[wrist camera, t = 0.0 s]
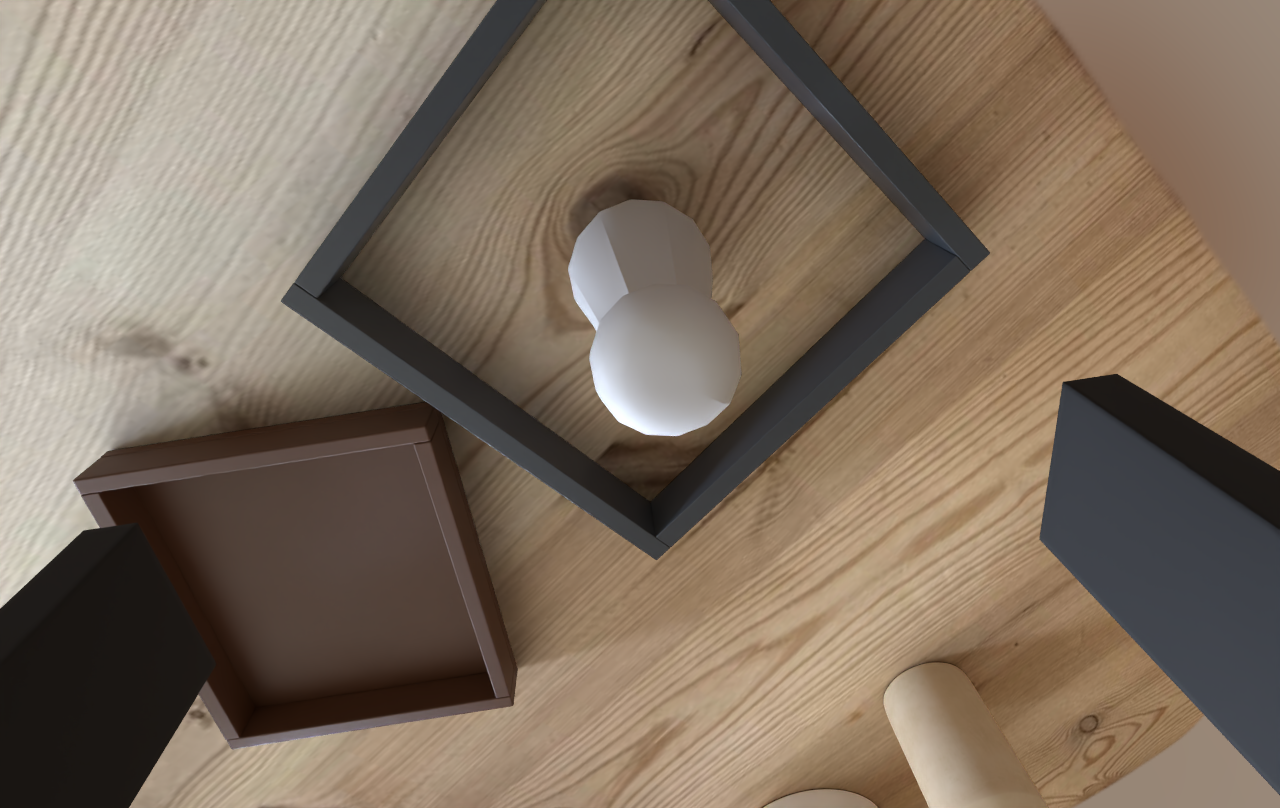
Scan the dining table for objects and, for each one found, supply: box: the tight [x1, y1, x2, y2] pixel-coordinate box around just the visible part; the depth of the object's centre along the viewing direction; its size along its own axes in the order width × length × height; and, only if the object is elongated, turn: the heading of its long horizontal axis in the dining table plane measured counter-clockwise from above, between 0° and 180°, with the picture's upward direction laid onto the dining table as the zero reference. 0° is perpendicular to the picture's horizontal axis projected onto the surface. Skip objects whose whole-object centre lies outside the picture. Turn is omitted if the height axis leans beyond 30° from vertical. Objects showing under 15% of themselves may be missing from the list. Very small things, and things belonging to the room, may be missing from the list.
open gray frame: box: [281, 0, 990, 560], centre depth 29 cm, size 20×20×3 cm
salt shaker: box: [568, 199, 742, 436], centre depth 25 cm, size 6×6×13 cm
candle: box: [884, 662, 1049, 808], centre depth 39 cm, size 6×6×10 cm
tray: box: [73, 402, 518, 749], centre depth 36 cm, size 18×16×3 cm
